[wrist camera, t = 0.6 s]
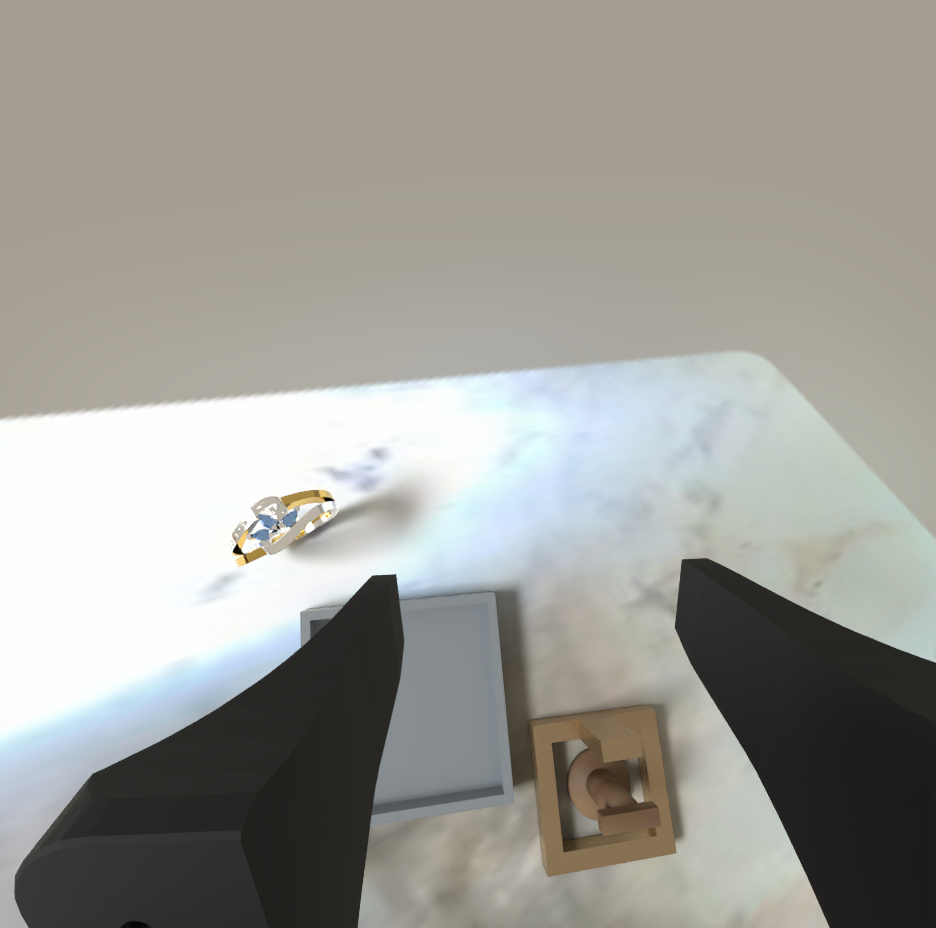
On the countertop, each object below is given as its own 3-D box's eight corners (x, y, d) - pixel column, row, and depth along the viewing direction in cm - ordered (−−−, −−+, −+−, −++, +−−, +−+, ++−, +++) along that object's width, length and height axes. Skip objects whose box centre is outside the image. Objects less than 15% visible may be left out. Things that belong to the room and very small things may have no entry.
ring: (335, 491, 35) (314, 471, 27) (353, 529, 35) (338, 520, 27) (244, 535, 34) (195, 527, 26) (262, 576, 33) (218, 580, 25)
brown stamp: (631, 811, 33) (672, 857, 28) (571, 821, 32) (601, 870, 27) (622, 742, 34) (660, 775, 29) (563, 751, 33) (591, 786, 28)
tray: (508, 788, 32) (514, 803, 30) (309, 819, 30) (303, 837, 29) (490, 591, 35) (495, 593, 33) (306, 609, 33) (300, 612, 31)
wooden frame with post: (666, 842, 33) (713, 893, 28) (542, 865, 32) (568, 922, 27) (646, 704, 35) (687, 728, 30) (528, 720, 33) (549, 748, 28)
